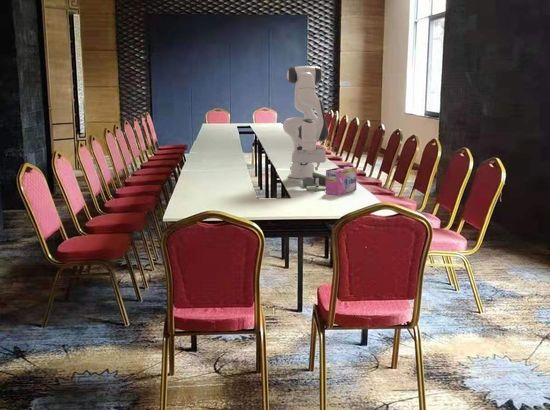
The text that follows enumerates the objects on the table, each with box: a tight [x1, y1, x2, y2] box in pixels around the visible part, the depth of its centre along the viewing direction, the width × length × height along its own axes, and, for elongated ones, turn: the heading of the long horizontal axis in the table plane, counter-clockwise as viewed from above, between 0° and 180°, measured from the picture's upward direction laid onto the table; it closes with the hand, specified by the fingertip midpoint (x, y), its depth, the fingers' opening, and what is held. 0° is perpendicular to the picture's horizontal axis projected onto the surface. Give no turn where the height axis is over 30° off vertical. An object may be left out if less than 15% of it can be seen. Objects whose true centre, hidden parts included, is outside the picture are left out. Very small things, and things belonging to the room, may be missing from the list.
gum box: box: [325, 165, 357, 196], centre depth 341 cm, size 24×8×14 cm, turn 144°
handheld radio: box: [312, 171, 326, 186], centre depth 366 cm, size 7×3×25 cm
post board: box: [305, 178, 326, 192], centre depth 348 cm, size 8×16×6 cm, turn 95°
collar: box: [302, 177, 315, 188], centre depth 359 cm, size 6×6×5 cm
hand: (308, 170), depth 356 cm, fingers open, 8 cm apart
